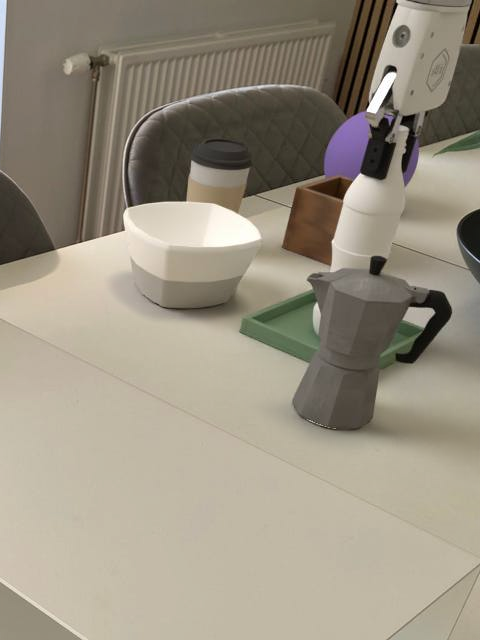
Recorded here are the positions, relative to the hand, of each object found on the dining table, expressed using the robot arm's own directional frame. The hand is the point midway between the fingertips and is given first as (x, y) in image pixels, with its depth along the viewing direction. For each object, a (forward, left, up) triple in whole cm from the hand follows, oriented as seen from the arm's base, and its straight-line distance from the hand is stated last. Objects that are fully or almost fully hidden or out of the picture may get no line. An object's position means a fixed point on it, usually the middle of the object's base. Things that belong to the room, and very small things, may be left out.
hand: (383, 171), depth 117 cm
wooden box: (+18, -28, -21) cm, 39 cm away
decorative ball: (+28, -51, -21) cm, 62 cm away
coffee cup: (+31, -12, -21) cm, 39 cm away
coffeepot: (-12, +17, -21) cm, 30 cm away
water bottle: (0, 0, -20) cm, 20 cm away
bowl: (+22, +5, -21) cm, 31 cm away
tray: (0, 0, -21) cm, 21 cm away
